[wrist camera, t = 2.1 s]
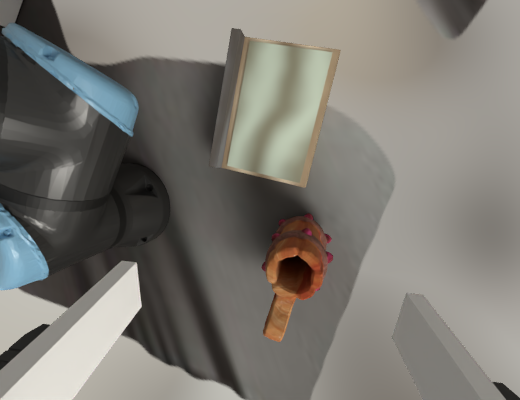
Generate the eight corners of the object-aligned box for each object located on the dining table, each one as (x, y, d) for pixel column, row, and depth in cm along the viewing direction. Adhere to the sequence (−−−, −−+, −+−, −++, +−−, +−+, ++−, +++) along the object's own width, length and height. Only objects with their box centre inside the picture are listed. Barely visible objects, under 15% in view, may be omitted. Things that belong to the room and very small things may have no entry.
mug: (286, 201, 40) (269, 225, 25) (335, 218, 38) (348, 254, 24) (260, 278, 43) (231, 340, 28) (304, 297, 42) (298, 371, 27)
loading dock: (223, 165, 41) (208, 166, 35) (244, 48, 37) (231, 28, 31) (306, 184, 38) (304, 189, 33) (337, 62, 35) (342, 42, 29)
